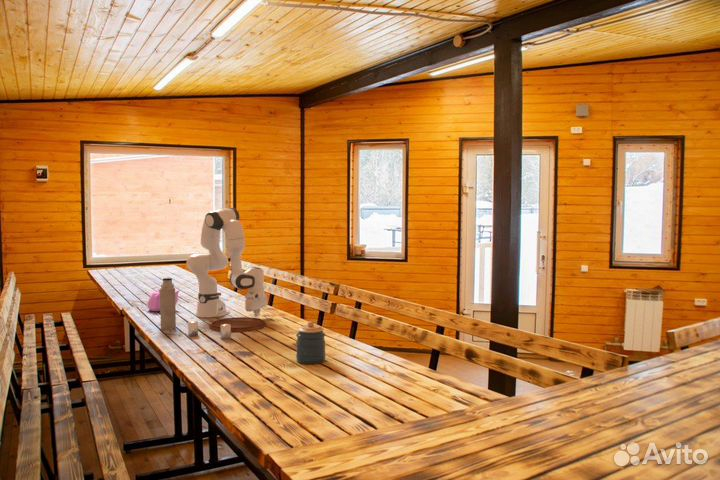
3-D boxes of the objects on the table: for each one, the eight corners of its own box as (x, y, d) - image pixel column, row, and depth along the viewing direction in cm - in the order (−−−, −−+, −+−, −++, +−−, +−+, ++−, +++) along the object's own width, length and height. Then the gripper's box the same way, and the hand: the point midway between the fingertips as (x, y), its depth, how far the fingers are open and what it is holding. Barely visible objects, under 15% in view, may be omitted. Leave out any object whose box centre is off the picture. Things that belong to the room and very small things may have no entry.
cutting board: (253, 334, 299) (253, 329, 299) (198, 331, 306) (198, 327, 305) (274, 322, 330) (274, 318, 330) (224, 320, 337) (224, 315, 337)
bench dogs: (192, 333, 298) (192, 320, 298) (232, 337, 290) (232, 324, 289) (186, 335, 294) (186, 322, 293) (227, 339, 285) (227, 326, 285)
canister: (310, 355, 256) (310, 317, 255) (331, 360, 248) (331, 320, 247) (290, 361, 246) (289, 321, 245) (311, 366, 238) (311, 325, 237)
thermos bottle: (164, 326, 317) (163, 277, 315) (178, 326, 316) (177, 277, 314) (158, 329, 309) (157, 279, 307) (172, 329, 308) (171, 279, 307)
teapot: (175, 313, 356) (175, 291, 355) (141, 313, 356) (141, 291, 355) (186, 307, 377) (186, 286, 377) (154, 307, 378) (154, 286, 377)
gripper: (260, 291, 347) (261, 313, 348) (243, 295, 328) (243, 319, 329) (269, 291, 345) (270, 313, 346) (252, 296, 326) (252, 319, 327)
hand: (256, 316), depth 337 cm, fingers closed
